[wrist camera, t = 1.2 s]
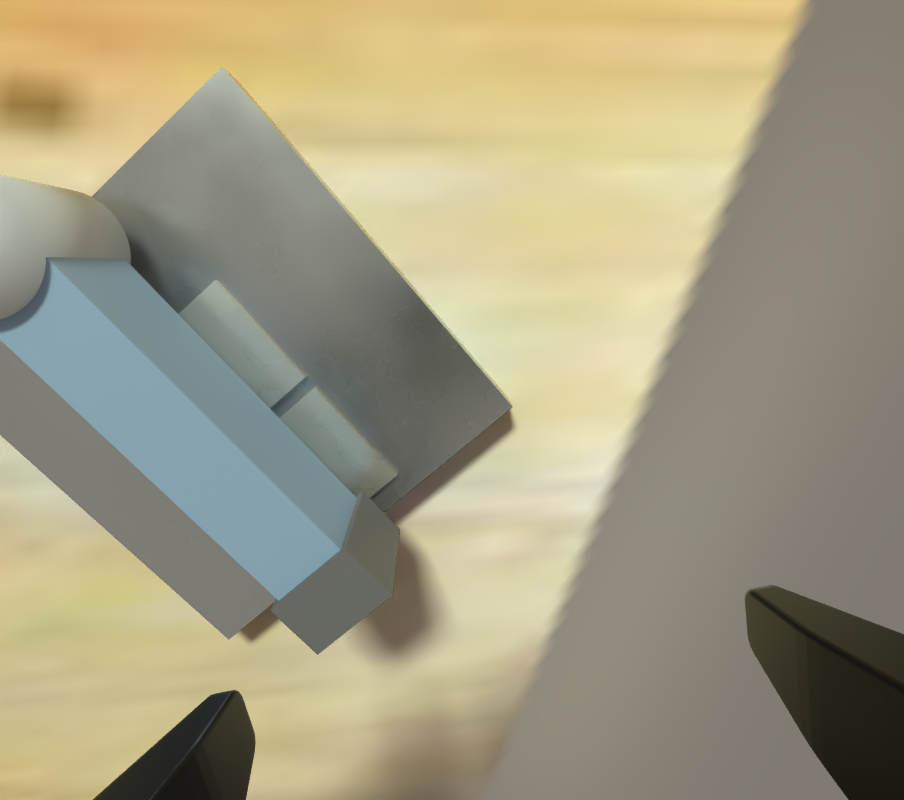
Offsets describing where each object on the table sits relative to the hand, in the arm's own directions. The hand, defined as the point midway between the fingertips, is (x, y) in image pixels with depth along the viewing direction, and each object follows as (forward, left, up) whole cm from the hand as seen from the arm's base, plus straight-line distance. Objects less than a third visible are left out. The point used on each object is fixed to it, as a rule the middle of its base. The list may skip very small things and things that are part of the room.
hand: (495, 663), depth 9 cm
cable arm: (+7, +4, -8) cm, 11 cm away
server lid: (+7, +4, -10) cm, 12 cm away
